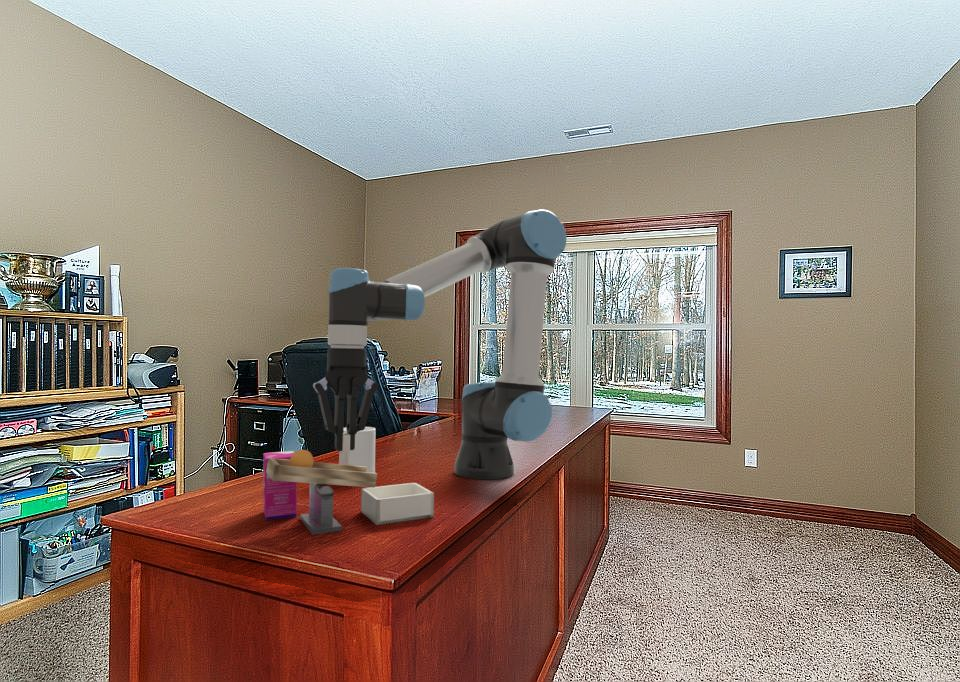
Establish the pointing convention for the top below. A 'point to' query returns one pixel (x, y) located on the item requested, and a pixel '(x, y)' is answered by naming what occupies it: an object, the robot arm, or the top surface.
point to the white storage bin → (397, 503)
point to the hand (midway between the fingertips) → (344, 467)
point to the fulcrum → (320, 510)
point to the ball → (302, 459)
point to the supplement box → (278, 492)
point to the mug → (364, 449)
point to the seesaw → (321, 473)
